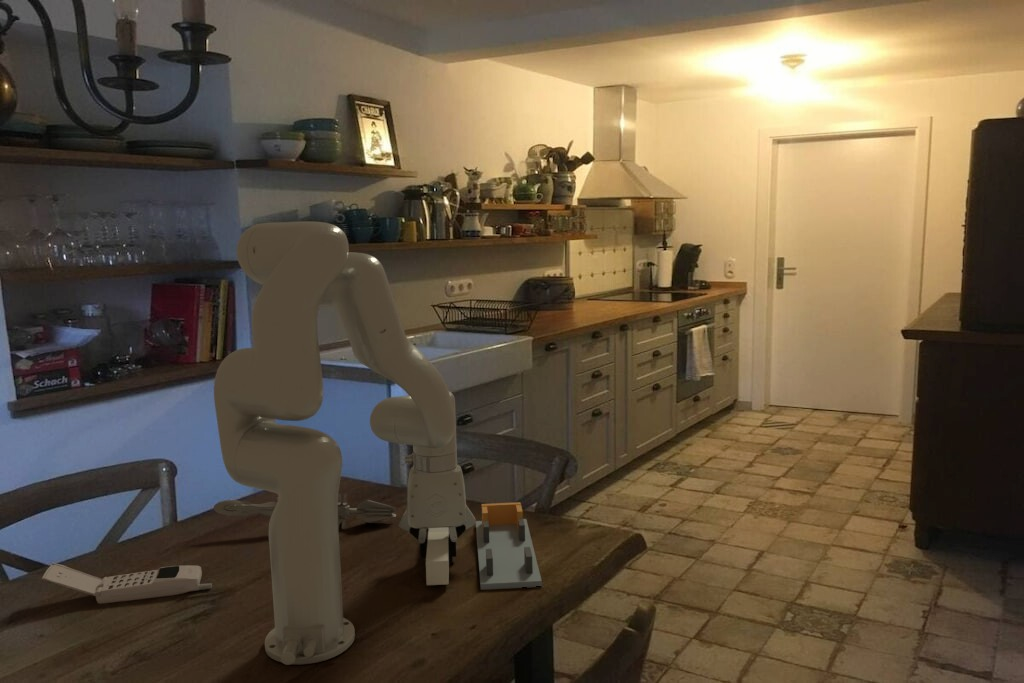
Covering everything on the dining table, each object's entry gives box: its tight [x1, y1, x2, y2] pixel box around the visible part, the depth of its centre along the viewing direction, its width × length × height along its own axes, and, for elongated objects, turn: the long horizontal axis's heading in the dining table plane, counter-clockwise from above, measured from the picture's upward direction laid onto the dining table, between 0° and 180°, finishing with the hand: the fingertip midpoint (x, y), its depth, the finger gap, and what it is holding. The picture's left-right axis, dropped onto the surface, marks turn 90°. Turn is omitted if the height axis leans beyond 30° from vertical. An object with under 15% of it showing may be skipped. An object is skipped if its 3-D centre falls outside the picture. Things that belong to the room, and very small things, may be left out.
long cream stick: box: [425, 527, 450, 586], centre depth 143 cm, size 22×4×4 cm, turn 4°
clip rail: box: [475, 501, 543, 591], centre depth 146 cm, size 28×10×5 cm, turn 4°
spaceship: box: [213, 492, 397, 530], centre depth 160 cm, size 8×35×8 cm
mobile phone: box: [41, 562, 213, 604], centre depth 133 cm, size 6×6×25 cm
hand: (438, 560), depth 144 cm, fingers closed on long cream stick, 3 cm apart
